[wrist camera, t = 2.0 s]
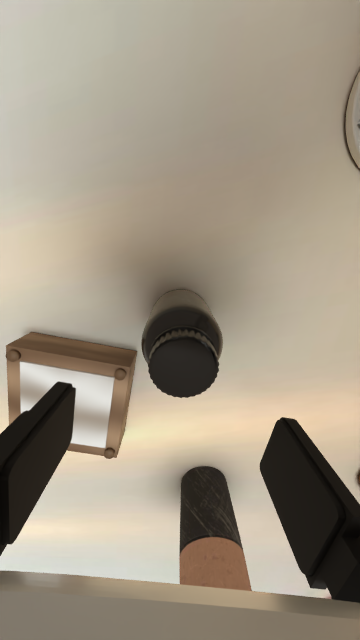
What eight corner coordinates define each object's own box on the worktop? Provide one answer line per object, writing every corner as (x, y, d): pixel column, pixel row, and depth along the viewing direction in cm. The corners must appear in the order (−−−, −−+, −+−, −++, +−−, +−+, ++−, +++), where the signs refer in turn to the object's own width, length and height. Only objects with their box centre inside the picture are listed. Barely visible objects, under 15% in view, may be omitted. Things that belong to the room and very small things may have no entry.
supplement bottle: (145, 333, 26) (119, 395, 15) (162, 280, 24) (146, 302, 13) (197, 350, 27) (211, 421, 15) (218, 299, 25) (251, 337, 13)
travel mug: (172, 472, 33) (163, 777, 14) (219, 459, 32) (280, 762, 13) (188, 505, 35) (200, 809, 16) (233, 493, 34) (303, 797, 15)
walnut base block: (31, 332, 26) (2, 347, 22) (137, 351, 27) (129, 369, 22) (31, 417, 30) (6, 445, 25) (124, 432, 30) (115, 461, 26)
